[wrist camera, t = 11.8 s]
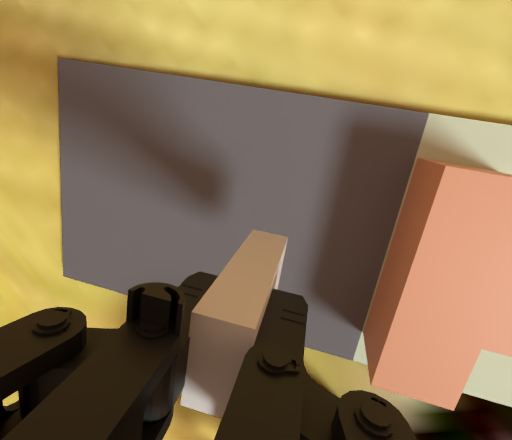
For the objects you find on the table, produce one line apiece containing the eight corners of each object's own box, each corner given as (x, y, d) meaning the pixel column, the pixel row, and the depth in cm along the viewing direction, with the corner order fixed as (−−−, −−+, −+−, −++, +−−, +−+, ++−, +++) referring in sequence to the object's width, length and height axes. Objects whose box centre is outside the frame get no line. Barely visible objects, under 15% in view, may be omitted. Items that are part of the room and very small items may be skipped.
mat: (72, 271, 23) (63, 276, 22) (68, 60, 19) (57, 57, 18) (574, 415, 17) (585, 428, 17) (730, 159, 13) (754, 161, 12)
